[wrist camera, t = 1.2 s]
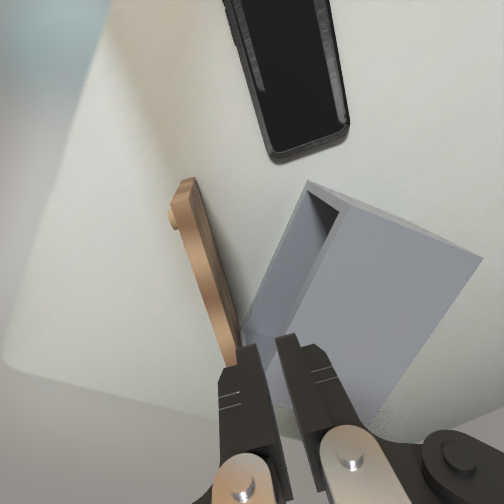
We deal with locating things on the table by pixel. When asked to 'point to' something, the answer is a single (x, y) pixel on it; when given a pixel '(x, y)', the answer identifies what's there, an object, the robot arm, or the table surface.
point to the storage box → (354, 294)
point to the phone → (291, 71)
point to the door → (206, 266)
